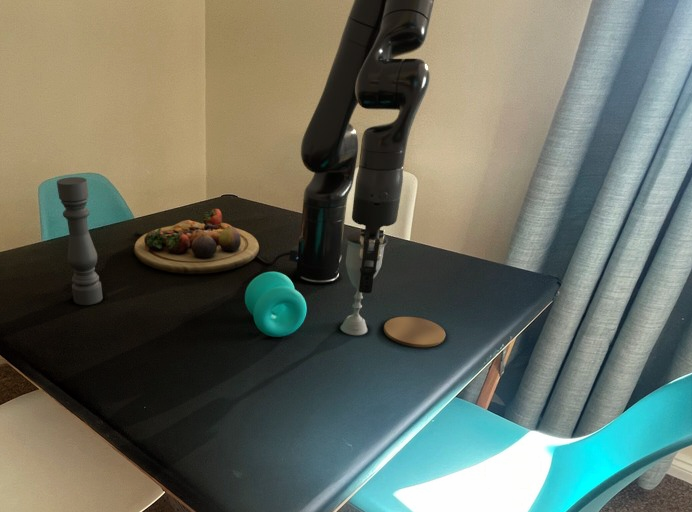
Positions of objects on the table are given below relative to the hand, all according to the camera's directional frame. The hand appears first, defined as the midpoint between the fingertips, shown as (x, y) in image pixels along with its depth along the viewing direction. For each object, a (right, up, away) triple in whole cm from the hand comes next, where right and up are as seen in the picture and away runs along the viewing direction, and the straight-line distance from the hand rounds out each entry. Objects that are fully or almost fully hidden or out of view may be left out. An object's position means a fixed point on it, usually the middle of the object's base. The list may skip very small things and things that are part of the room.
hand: (365, 282), depth 101 cm
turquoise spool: (-16, -8, +6) cm, 19 cm away
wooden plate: (-32, +14, +41) cm, 54 cm away
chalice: (-1, -8, +5) cm, 10 cm away
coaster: (+10, -9, +4) cm, 14 cm away
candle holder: (-55, -1, +18) cm, 58 cm away
